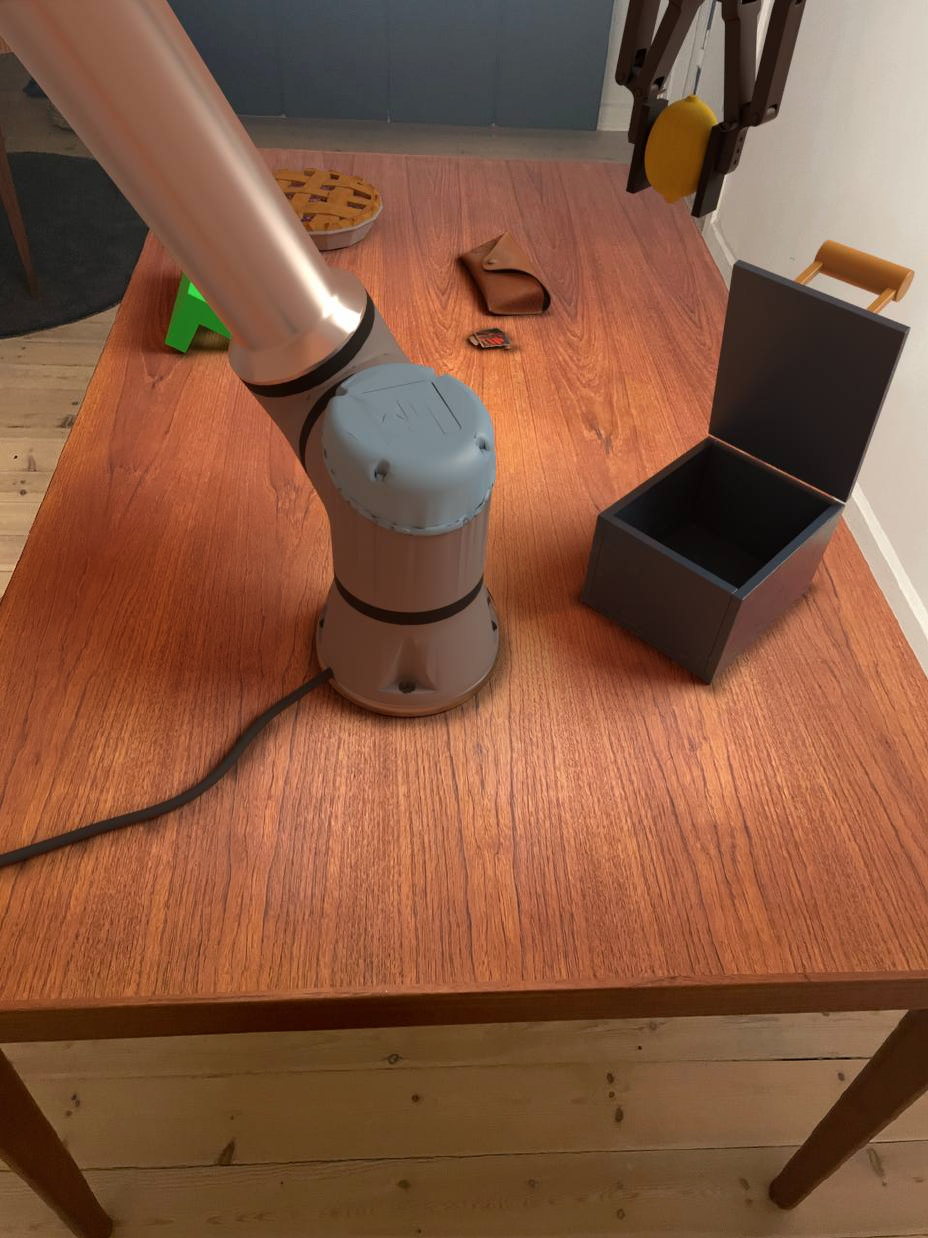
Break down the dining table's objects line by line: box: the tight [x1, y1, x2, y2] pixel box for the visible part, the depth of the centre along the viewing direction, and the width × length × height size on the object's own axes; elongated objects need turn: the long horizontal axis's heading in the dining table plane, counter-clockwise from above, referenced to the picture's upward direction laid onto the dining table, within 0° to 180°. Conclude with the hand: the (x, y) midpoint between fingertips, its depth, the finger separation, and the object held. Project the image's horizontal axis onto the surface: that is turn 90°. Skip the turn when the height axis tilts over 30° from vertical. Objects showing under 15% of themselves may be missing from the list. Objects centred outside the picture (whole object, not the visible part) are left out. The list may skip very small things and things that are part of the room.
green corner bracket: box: [164, 271, 231, 354], centre depth 113 cm, size 20×10×7 cm, turn 5°
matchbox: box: [468, 327, 514, 350], centre depth 113 cm, size 5×5×1 cm
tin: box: [580, 435, 846, 685], centre depth 79 cm, size 17×14×10 cm
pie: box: [271, 167, 384, 251], centre depth 132 cm, size 22×22×5 cm
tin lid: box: [707, 239, 915, 504], centre depth 74 cm, size 18×14×9 cm
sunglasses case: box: [458, 229, 552, 316], centre depth 123 cm, size 18×7×7 cm, turn 15°
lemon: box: [645, 94, 719, 205], centre depth 71 cm, size 6×6×8 cm
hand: (670, 199), depth 74 cm, fingers closed on lemon, 5 cm apart
